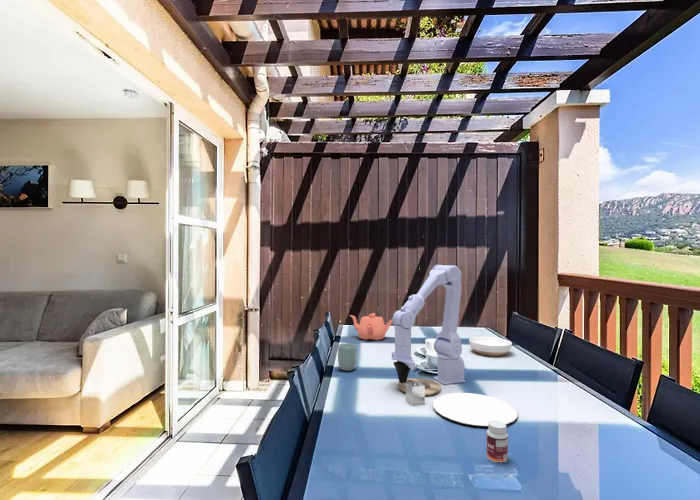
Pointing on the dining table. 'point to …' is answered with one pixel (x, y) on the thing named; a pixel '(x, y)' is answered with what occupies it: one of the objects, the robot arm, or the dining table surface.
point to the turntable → (429, 385)
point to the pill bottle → (497, 441)
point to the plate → (474, 409)
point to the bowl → (490, 345)
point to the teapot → (371, 327)
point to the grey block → (415, 393)
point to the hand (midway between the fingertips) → (402, 382)
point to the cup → (347, 356)
